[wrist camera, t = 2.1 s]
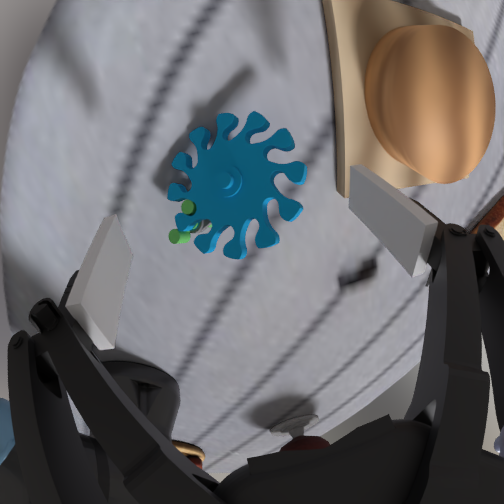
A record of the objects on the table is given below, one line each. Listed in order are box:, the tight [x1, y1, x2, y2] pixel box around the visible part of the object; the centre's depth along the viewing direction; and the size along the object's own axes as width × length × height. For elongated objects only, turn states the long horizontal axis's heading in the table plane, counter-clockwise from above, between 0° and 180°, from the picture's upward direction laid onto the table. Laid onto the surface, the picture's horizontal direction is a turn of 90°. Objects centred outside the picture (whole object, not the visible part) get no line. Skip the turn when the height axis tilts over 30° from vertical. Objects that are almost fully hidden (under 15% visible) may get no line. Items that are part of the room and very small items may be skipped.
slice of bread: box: [470, 195, 504, 240], centre depth 32 cm, size 18×18×4 cm
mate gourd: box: [270, 415, 330, 452], centre depth 50 cm, size 16×14×20 cm
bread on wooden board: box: [322, 0, 495, 198], centre depth 17 cm, size 18×18×6 cm
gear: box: [167, 111, 307, 259], centre depth 20 cm, size 11×6×10 cm
